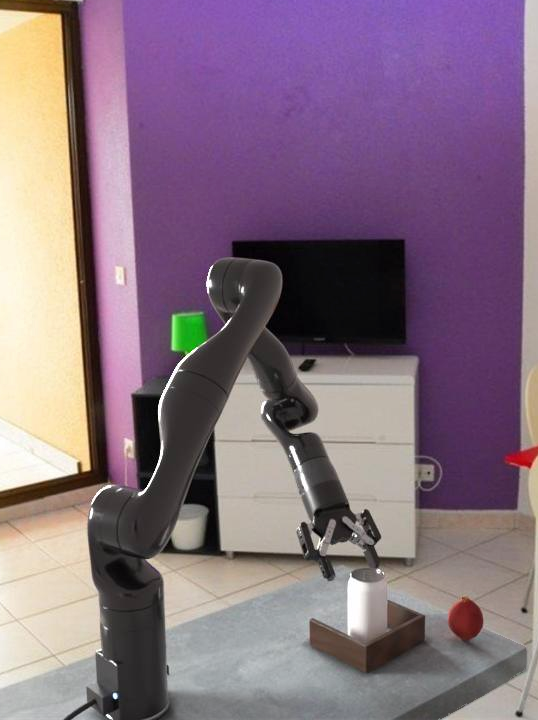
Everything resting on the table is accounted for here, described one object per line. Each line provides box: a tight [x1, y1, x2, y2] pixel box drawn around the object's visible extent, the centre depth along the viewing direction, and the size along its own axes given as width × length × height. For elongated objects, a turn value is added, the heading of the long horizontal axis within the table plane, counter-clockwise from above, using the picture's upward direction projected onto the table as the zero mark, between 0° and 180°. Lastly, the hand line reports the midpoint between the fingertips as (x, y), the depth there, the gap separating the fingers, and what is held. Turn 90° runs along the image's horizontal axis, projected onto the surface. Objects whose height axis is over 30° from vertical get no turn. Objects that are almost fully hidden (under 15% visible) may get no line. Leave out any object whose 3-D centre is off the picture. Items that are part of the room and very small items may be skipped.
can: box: [347, 566, 388, 643], centre depth 149 cm, size 6×6×12 cm
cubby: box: [309, 599, 426, 674], centre depth 150 cm, size 15×13×4 cm
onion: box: [446, 595, 485, 642], centre depth 150 cm, size 6×6×8 cm
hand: (354, 574), depth 152 cm, fingers open, 8 cm apart
